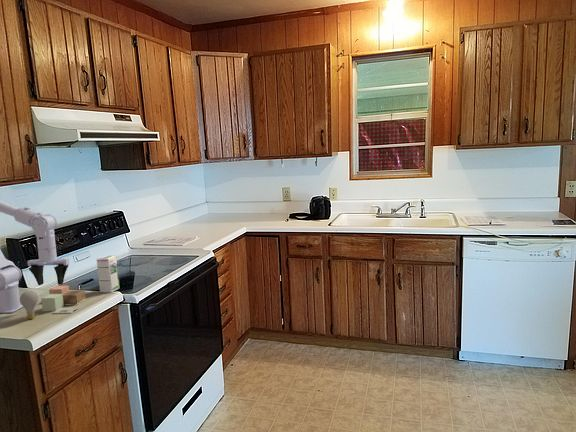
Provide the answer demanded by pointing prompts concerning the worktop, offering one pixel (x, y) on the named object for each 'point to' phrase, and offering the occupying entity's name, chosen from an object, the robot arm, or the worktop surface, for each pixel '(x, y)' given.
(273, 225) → the worktop surface
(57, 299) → the sage block
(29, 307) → the light bulb
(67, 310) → the card
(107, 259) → the syrup box
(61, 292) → the terracotta block
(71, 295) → the walnut block
